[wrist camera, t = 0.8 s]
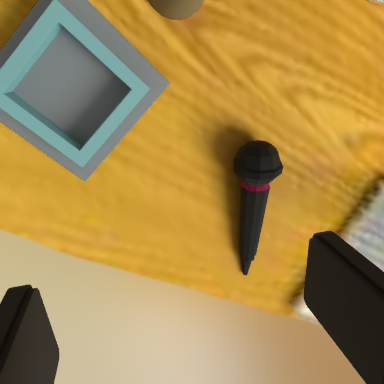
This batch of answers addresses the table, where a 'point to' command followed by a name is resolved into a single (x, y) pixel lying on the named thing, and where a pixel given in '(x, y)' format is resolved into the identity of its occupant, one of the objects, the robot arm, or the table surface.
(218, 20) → the table surface
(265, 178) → the microphone
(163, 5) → the cork
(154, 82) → the socket
